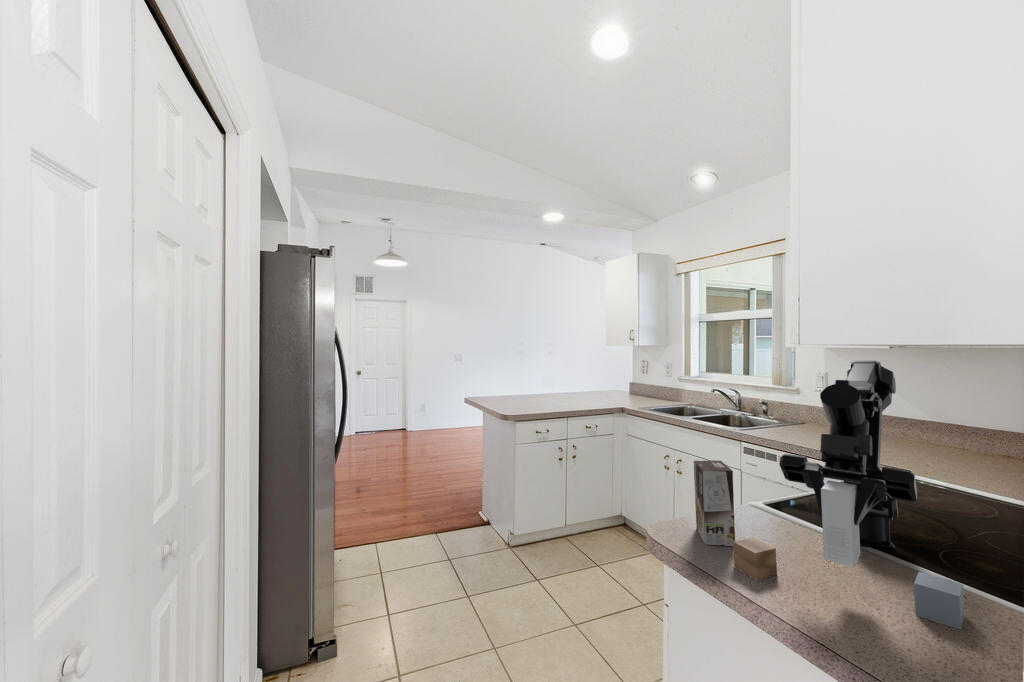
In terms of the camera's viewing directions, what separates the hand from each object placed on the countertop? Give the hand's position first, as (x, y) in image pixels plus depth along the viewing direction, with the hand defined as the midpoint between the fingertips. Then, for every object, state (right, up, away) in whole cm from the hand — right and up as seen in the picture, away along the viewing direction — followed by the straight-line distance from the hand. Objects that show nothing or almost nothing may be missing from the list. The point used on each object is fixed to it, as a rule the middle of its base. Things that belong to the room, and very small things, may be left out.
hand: (838, 520), depth 72 cm
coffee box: (-9, -14, +25) cm, 30 cm away
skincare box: (+1, -7, +1) cm, 7 cm away
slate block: (+12, -13, -5) cm, 18 cm away
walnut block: (-8, -14, +10) cm, 19 cm away
